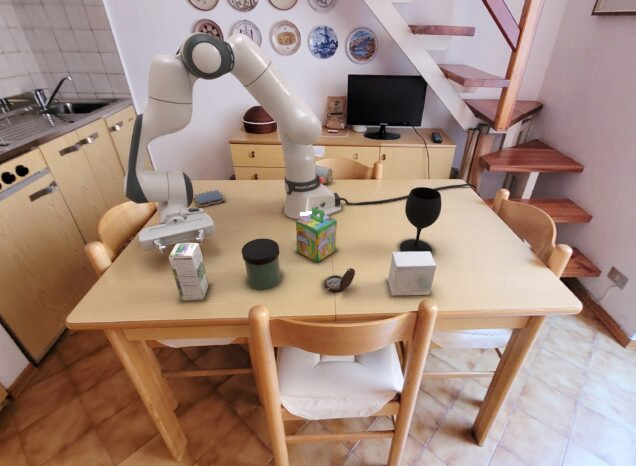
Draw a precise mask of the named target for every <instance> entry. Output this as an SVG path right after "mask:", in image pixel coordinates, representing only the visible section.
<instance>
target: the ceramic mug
mask: <svg viewBox="0 0 636 466" xmlns="http://www.w3.org/2000/svg"><path fill="white" fill-rule="evenodd" d="M315 165H316V174H317V175H319V176H320V177H323V178H324V179H325V180H326V181H325V183H324V184H331V182H332V180H333V169H332V168H330V167H329V166H323V165H318V164H315ZM320 183H321V182H320ZM321 184H322V183H321Z"/></svg>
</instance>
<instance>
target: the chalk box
mask: <svg viewBox="0 0 636 466" xmlns="http://www.w3.org/2000/svg"><path fill="white" fill-rule="evenodd" d="M337 223H338V221H337V219H335V218H334V217H331V216H330V215H325V214H324V211H322V210H319V209H316V208H314V207H313V208H312V212H311V214H309V215H307V216H305V217H303V218H301V219H296V220H295V230H296V233H295V235H296V252H297V253H299V254H300V255H303V256H305V257H307V258H308V259H310V260H312V261H314V262H316V263H319V262H321V261H322V260H324V259H325V258H326V257H328V256H329V255H331V254H333V253H334V252H335V251H336V250H337V249H336V248H337V225H338V224H337Z"/></svg>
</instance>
